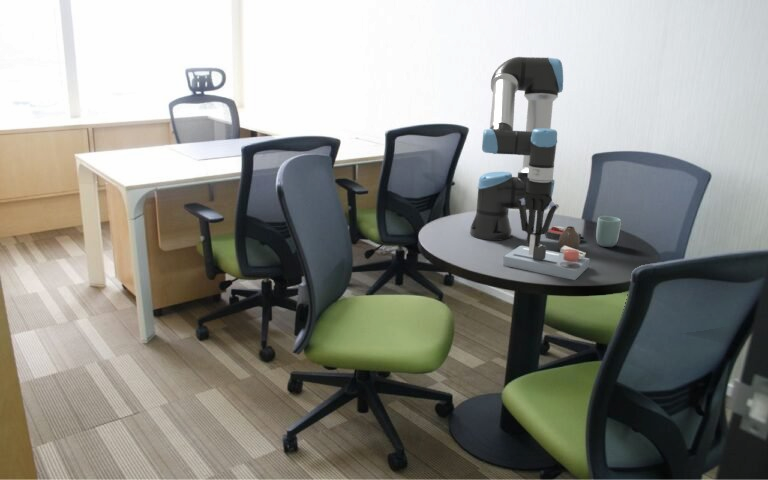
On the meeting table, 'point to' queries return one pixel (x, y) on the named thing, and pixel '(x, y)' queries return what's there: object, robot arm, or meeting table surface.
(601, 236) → the cup
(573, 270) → the console
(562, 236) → the vase
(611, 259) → the meeting table surface
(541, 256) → the slider
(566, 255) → the button
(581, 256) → the rocker
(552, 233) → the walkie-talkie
